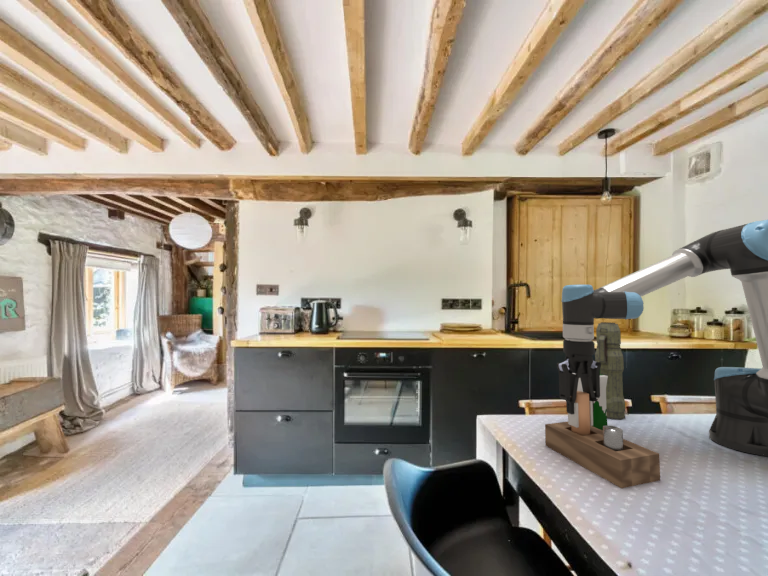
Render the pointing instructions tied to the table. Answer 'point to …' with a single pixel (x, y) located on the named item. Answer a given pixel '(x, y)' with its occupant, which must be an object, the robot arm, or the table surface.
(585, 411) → the peg
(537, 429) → the table surface
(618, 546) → the table surface
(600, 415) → the milk carton
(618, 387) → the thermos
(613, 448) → the steel pin
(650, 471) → the hole block
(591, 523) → the table surface
